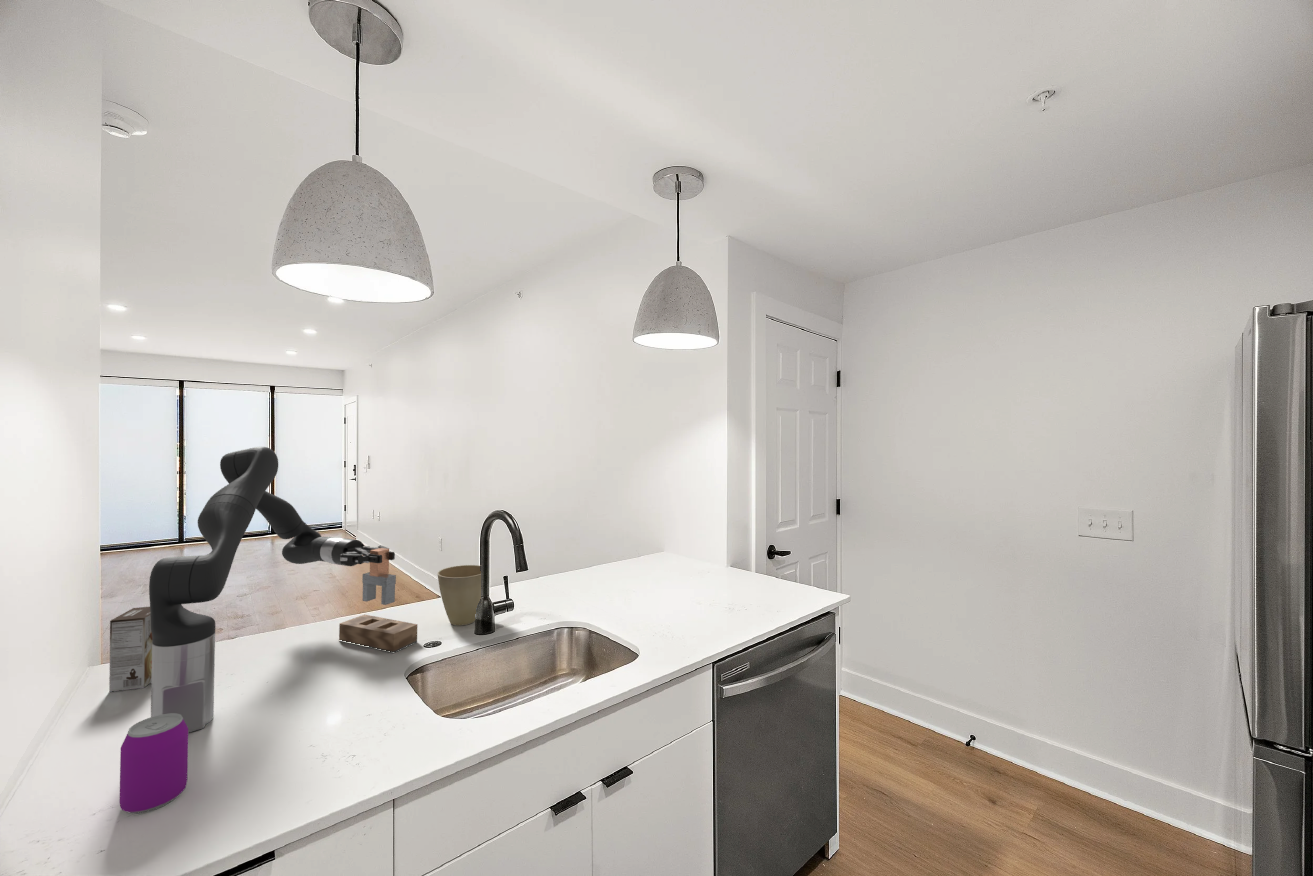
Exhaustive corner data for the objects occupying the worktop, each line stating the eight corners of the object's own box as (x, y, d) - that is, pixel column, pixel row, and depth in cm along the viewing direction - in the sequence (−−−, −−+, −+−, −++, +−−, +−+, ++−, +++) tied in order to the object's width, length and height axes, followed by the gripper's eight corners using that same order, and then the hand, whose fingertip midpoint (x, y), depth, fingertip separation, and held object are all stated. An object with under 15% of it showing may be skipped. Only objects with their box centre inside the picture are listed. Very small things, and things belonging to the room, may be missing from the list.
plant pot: (451, 612, 169) (452, 563, 169) (494, 614, 168) (495, 566, 168) (426, 629, 154) (427, 575, 154) (474, 632, 153) (475, 578, 153)
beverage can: (104, 813, 78) (106, 734, 78) (160, 780, 86) (162, 708, 86) (147, 820, 77) (148, 740, 77) (200, 786, 85) (201, 713, 85)
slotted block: (417, 642, 145) (417, 624, 145) (393, 653, 137) (393, 634, 137) (364, 631, 152) (364, 614, 152) (339, 641, 144) (339, 623, 144)
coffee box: (131, 674, 122) (133, 607, 122) (166, 670, 125) (167, 604, 125) (107, 693, 114) (109, 620, 114) (145, 688, 116) (146, 617, 116)
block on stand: (396, 601, 145) (397, 550, 145) (385, 605, 141) (386, 552, 141) (372, 597, 148) (373, 546, 148) (360, 601, 144) (362, 549, 144)
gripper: (319, 543, 143) (365, 549, 137) (364, 534, 156) (408, 539, 150) (318, 570, 143) (365, 577, 137) (363, 559, 156) (407, 565, 150)
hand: (387, 557), depth 143 cm, fingers closed on block on stand, 3 cm apart
